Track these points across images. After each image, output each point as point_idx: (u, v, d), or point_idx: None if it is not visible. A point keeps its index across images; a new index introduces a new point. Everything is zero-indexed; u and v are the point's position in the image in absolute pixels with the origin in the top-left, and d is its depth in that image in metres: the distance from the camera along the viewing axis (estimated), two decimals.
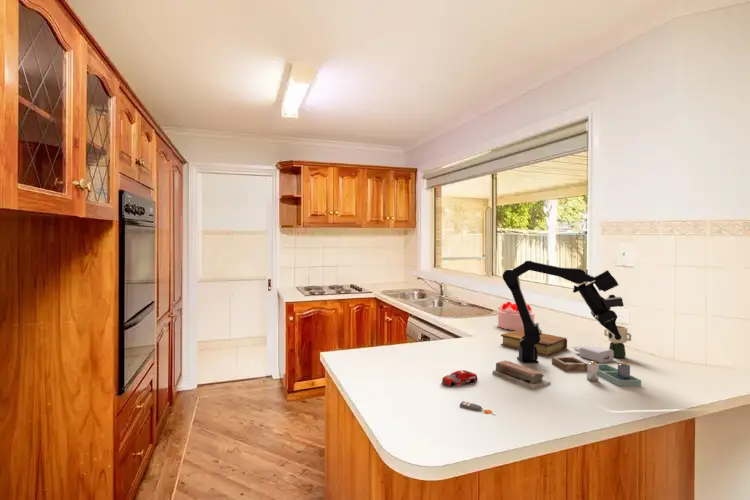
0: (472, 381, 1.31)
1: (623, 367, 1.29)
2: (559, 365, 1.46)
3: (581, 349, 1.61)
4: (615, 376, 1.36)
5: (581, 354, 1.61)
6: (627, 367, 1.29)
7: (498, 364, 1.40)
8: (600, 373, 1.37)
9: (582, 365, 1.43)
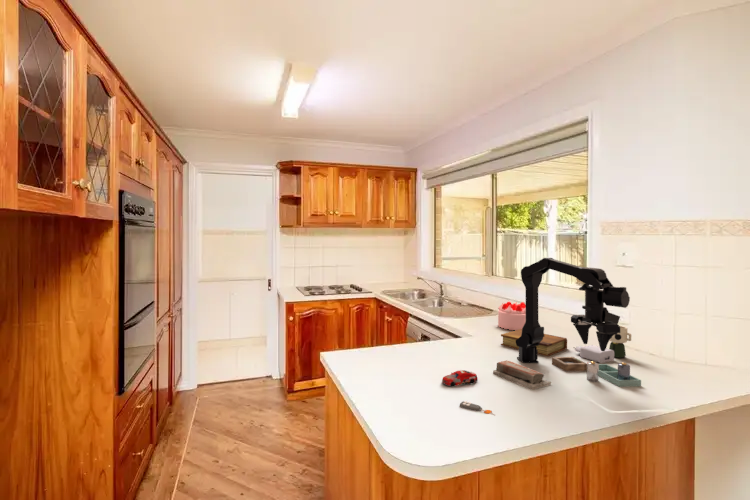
0: (472, 381, 1.31)
1: (623, 367, 1.29)
2: (559, 365, 1.46)
3: (582, 349, 1.61)
4: (615, 376, 1.36)
5: (582, 354, 1.61)
6: (627, 367, 1.29)
7: (499, 364, 1.41)
8: (600, 373, 1.37)
9: (582, 365, 1.43)
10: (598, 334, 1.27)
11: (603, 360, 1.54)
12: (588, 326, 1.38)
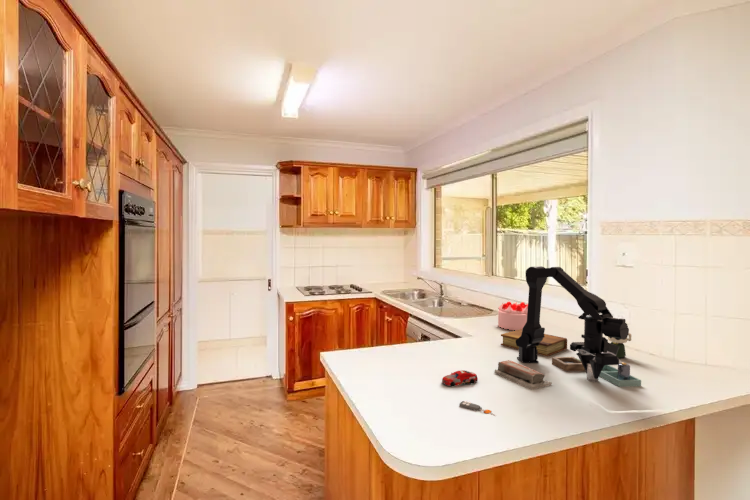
0: (472, 381, 1.30)
1: (623, 367, 1.29)
2: (559, 365, 1.46)
3: None
4: (615, 376, 1.36)
5: None
6: (627, 367, 1.29)
7: (500, 363, 1.41)
8: (600, 373, 1.37)
9: (582, 365, 1.43)
10: (592, 363, 1.30)
11: None
12: (592, 356, 1.36)
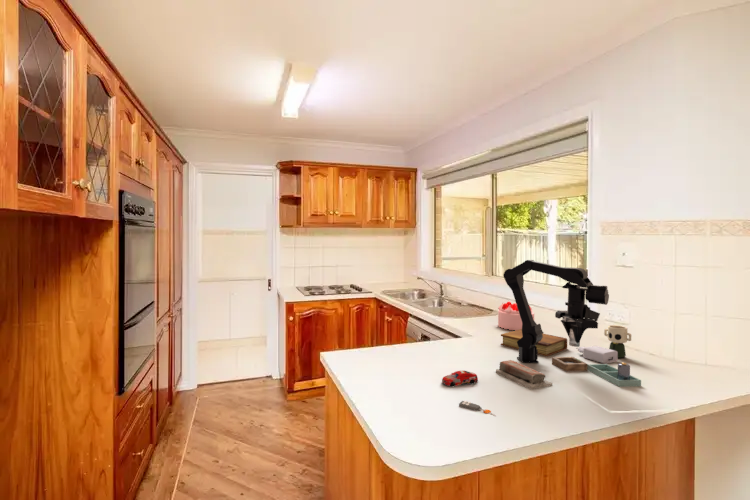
0: (472, 381, 1.30)
1: (623, 367, 1.29)
2: (559, 365, 1.46)
3: (585, 350, 1.60)
4: (615, 376, 1.36)
5: (585, 355, 1.60)
6: (627, 367, 1.29)
7: (502, 363, 1.41)
8: (600, 373, 1.37)
9: (582, 365, 1.43)
10: (573, 327, 1.40)
11: (606, 361, 1.53)
12: (575, 323, 1.46)
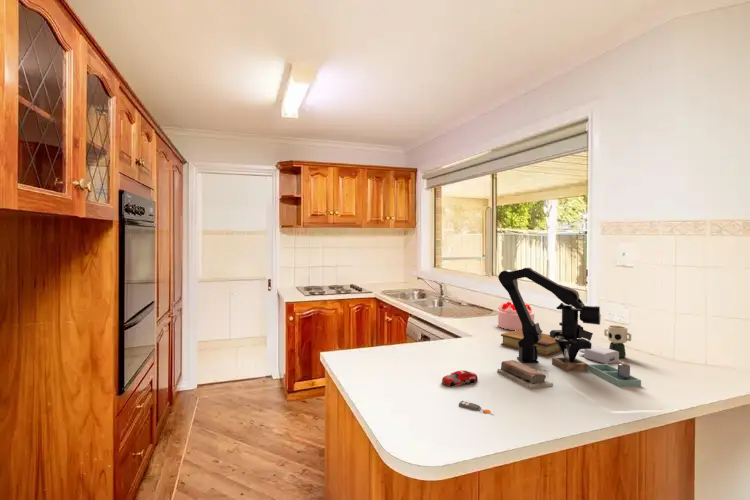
0: (472, 381, 1.30)
1: (623, 367, 1.29)
2: (559, 365, 1.46)
3: (586, 350, 1.59)
4: (615, 376, 1.36)
5: (586, 355, 1.59)
6: (627, 367, 1.29)
7: (503, 363, 1.42)
8: (600, 373, 1.37)
9: (582, 365, 1.43)
10: (567, 347, 1.44)
11: (608, 361, 1.53)
12: (569, 342, 1.50)
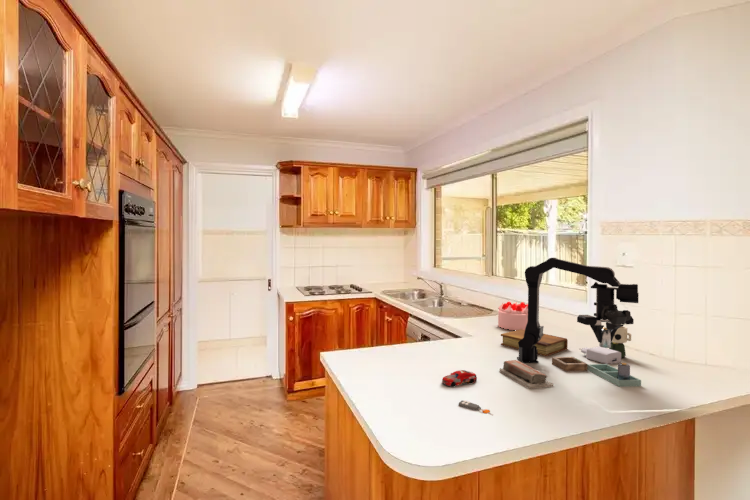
0: (472, 381, 1.31)
1: (623, 367, 1.29)
2: (559, 365, 1.46)
3: (588, 351, 1.59)
4: (615, 376, 1.36)
5: (588, 356, 1.58)
6: (627, 367, 1.29)
7: (505, 363, 1.42)
8: (600, 373, 1.37)
9: (582, 365, 1.43)
10: None
11: (610, 362, 1.52)
12: (613, 326, 1.39)
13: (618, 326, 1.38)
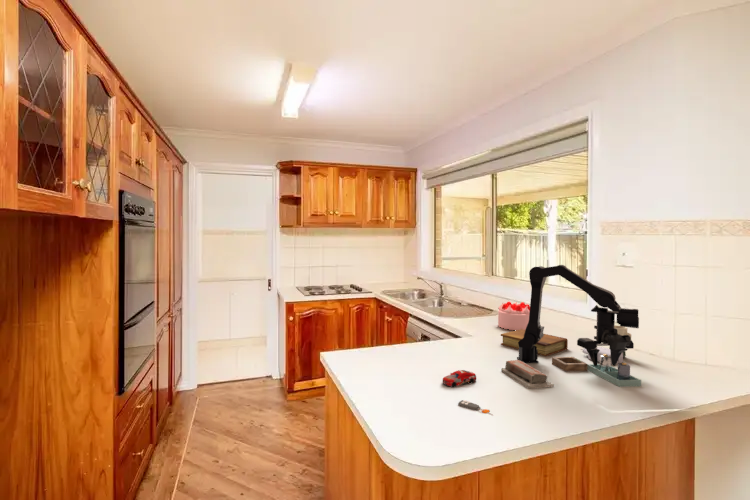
0: (471, 380, 1.31)
1: (623, 367, 1.29)
2: (559, 365, 1.46)
3: None
4: (615, 376, 1.36)
5: None
6: (627, 367, 1.29)
7: (507, 362, 1.42)
8: (600, 373, 1.37)
9: (582, 365, 1.43)
10: None
11: None
12: (617, 350, 1.39)
13: (622, 350, 1.38)
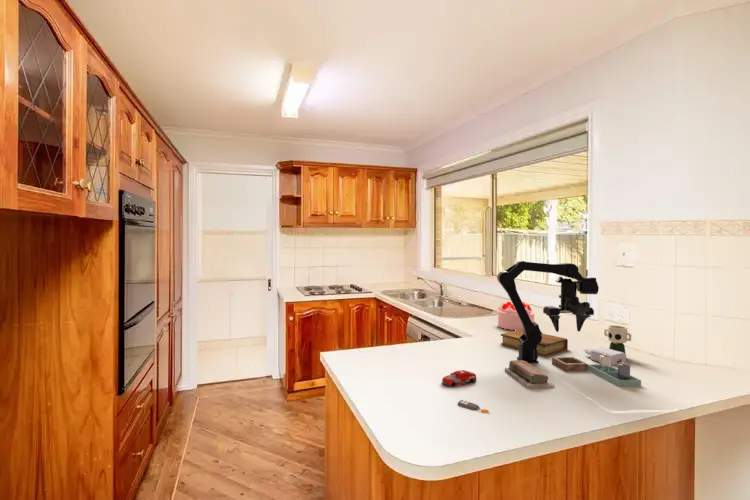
0: (471, 381, 1.31)
1: (623, 367, 1.29)
2: (559, 365, 1.46)
3: (592, 352, 1.57)
4: (615, 376, 1.36)
5: (592, 357, 1.57)
6: (627, 367, 1.29)
7: (511, 362, 1.43)
8: (600, 373, 1.37)
9: (582, 365, 1.43)
10: None
11: (615, 363, 1.51)
12: (582, 316, 1.52)
13: (586, 316, 1.51)
